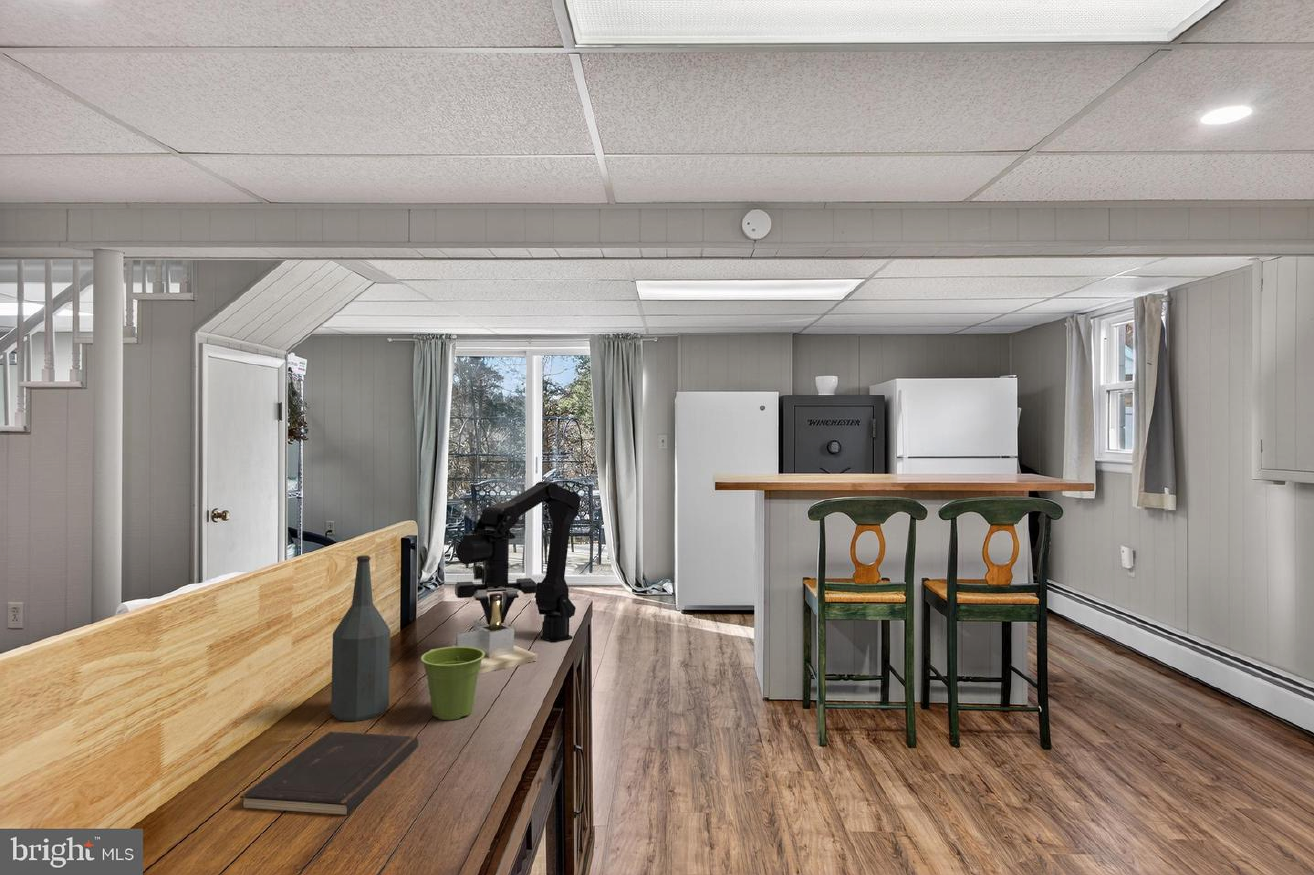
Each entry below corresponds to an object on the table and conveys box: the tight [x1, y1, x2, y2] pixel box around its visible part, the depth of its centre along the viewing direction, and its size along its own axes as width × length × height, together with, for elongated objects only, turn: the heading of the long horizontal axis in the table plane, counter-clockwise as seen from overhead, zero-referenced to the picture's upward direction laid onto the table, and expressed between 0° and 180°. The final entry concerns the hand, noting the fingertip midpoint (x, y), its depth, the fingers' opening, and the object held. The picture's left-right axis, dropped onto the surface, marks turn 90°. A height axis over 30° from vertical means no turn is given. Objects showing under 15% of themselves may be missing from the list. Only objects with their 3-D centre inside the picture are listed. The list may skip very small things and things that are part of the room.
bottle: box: [330, 555, 391, 722], centre depth 138 cm, size 10×10×30 cm
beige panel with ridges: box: [428, 619, 538, 675], centre depth 173 cm, size 18×20×8 cm
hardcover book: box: [239, 731, 419, 816], centre depth 112 cm, size 16×23×2 cm
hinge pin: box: [488, 592, 503, 631], centre depth 173 cm, size 3×3×10 cm
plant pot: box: [420, 646, 485, 721], centre depth 138 cm, size 12×12×11 cm
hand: (495, 623), depth 173 cm, fingers closed on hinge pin, 3 cm apart
